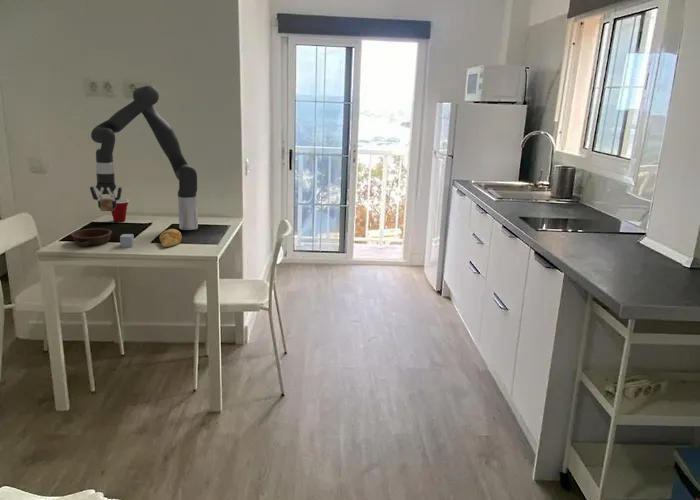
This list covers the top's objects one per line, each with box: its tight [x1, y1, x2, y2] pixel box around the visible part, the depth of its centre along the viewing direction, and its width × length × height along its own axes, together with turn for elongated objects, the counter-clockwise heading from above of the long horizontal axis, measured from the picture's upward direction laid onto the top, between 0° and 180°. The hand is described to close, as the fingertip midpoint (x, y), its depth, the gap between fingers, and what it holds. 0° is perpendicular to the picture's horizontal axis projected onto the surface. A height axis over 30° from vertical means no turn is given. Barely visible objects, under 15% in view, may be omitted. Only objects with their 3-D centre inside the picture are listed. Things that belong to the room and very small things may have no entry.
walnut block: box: [99, 197, 114, 212], centre depth 258 cm, size 5×5×5 cm
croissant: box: [159, 228, 183, 248], centre depth 265 cm, size 21×10×8 cm, turn 2°
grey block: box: [119, 233, 135, 248], centre depth 258 cm, size 5×5×5 cm
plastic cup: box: [110, 197, 130, 223], centre depth 303 cm, size 11×11×12 cm
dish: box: [70, 227, 113, 247], centre depth 261 cm, size 18×22×5 cm
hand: (107, 208), depth 259 cm, fingers closed on walnut block, 5 cm apart
